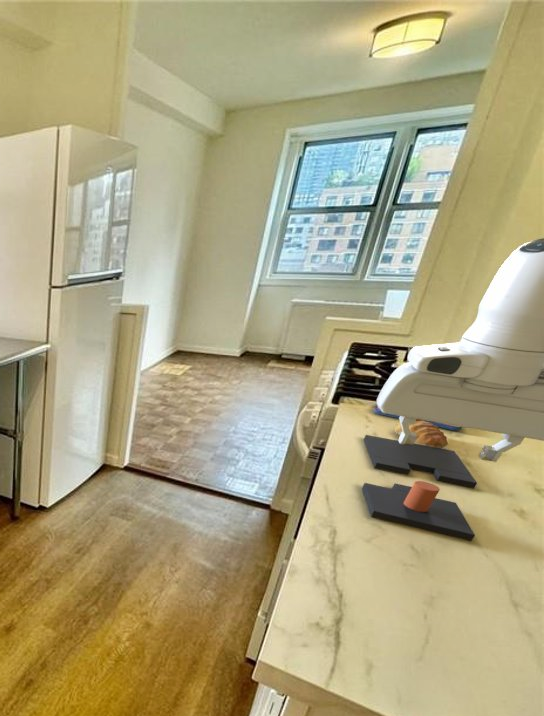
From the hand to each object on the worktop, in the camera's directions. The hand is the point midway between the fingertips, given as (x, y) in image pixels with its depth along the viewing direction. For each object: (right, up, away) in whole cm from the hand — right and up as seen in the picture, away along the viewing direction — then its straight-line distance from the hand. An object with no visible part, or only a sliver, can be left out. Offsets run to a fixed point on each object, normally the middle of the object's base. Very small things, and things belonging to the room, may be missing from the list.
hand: (444, 451), depth 73 cm
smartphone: (+33, +7, +38) cm, 51 cm away
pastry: (+24, +2, +29) cm, 38 cm away
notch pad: (+15, -2, +20) cm, 25 cm away
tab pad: (+1, -10, +6) cm, 11 cm away
